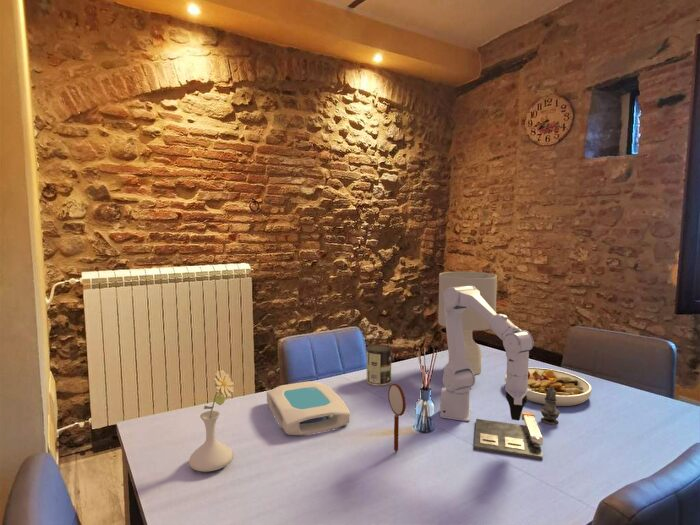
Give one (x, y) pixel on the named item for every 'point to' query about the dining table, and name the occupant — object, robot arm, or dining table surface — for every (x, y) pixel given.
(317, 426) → the document scanner
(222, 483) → the dining table surface
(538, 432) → the swing arm
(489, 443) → the label panel
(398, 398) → the magnifying glass
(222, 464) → the flower in vase
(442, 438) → the dining table surface
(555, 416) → the grey tall carved piece
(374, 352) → the coffee can
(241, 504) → the dining table surface
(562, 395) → the bowl
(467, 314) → the lamp
